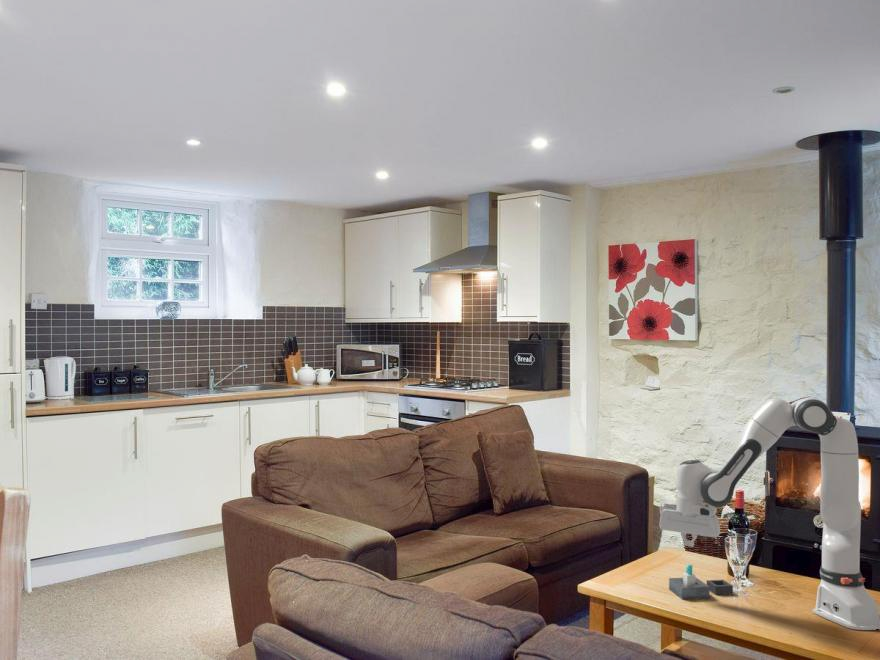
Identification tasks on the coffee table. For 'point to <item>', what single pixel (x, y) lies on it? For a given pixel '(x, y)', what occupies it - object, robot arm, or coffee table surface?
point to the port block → (688, 589)
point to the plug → (688, 576)
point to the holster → (720, 587)
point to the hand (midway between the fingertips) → (688, 546)
